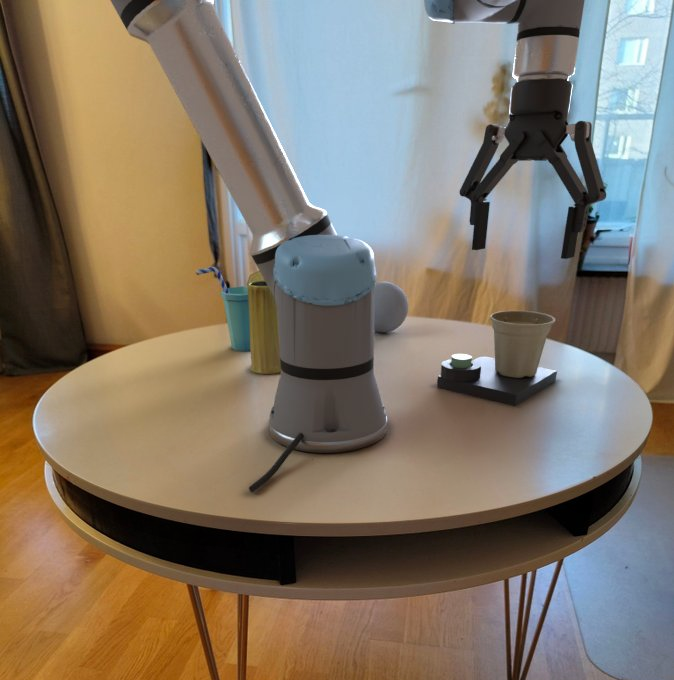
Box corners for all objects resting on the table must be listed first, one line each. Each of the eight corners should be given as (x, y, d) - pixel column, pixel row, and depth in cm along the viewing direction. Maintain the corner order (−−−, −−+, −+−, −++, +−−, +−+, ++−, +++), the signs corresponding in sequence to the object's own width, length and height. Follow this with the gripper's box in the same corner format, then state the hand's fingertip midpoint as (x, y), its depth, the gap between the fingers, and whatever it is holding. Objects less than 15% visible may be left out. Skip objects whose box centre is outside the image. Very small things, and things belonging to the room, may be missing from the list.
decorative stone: (362, 325, 131) (362, 277, 127) (409, 326, 129) (411, 278, 125) (355, 337, 122) (355, 286, 118) (405, 338, 120) (407, 287, 116)
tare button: (464, 370, 91) (465, 360, 91) (447, 367, 93) (447, 357, 93) (474, 366, 93) (475, 356, 93) (457, 362, 95) (458, 352, 95)
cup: (201, 354, 112) (192, 270, 106) (206, 343, 119) (197, 263, 113) (278, 351, 113) (273, 268, 107) (278, 340, 120) (273, 261, 114)
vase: (282, 362, 107) (278, 278, 101) (291, 372, 102) (286, 285, 96) (248, 365, 106) (241, 281, 99) (254, 376, 100) (248, 287, 94)
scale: (513, 406, 86) (516, 383, 85) (432, 387, 94) (434, 365, 93) (555, 380, 96) (558, 359, 95) (479, 365, 104) (481, 344, 103)
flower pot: (540, 364, 99) (548, 310, 95) (553, 383, 90) (562, 324, 86) (481, 363, 100) (486, 309, 96) (488, 381, 91) (494, 324, 87)
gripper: (654, 75, 73) (619, 258, 82) (471, 89, 88) (458, 244, 97) (634, 68, 68) (599, 264, 77) (443, 85, 83) (432, 248, 92)
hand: (520, 253), depth 87 cm, fingers open, 13 cm apart
